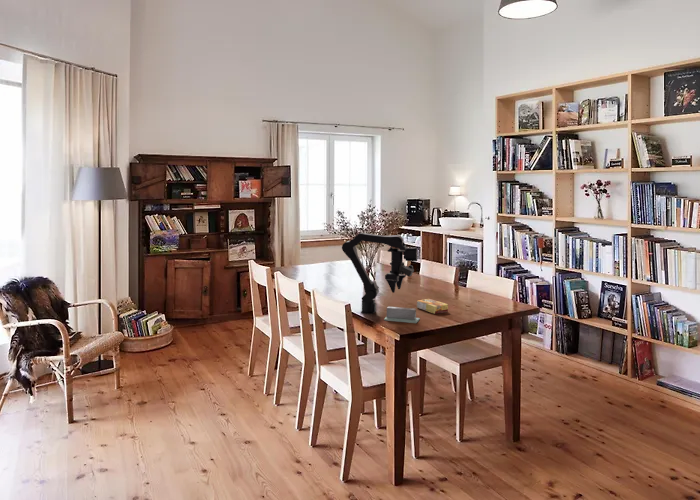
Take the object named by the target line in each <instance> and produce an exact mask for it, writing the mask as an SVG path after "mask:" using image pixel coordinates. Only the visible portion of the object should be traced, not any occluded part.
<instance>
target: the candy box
mask: <svg viewBox="0 0 700 500" xmlns="http://www.w3.org/2000/svg"><path fill="white" fill-rule="evenodd" d="M416 309H420V310H422V311H426V312H429V313H431V314H434V315H435V314H443V313H448V311H449V304H448V303H445V302H441V301H439V300H438V301H437V300H435V299H432V298H426V299H419V300H416Z"/></svg>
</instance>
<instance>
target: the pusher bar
mask: <svg viewBox="0 0 700 500" xmlns="http://www.w3.org/2000/svg"><path fill="white" fill-rule="evenodd" d="M386 317H387V318H395V319H406V320H415V319H416V318H417V308H413V307H411V308H410V307H398V306H387V307H386Z"/></svg>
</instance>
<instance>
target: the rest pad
mask: <svg viewBox="0 0 700 500" xmlns="http://www.w3.org/2000/svg"><path fill="white" fill-rule="evenodd" d="M420 319H421V318H420V317H416V319H415V320H406V319H395V318H387V316H385V318H384V319H383V320H384V321H389V322H398V323H408V324H409V323H410V324H417V323H418V322H419V321H420Z"/></svg>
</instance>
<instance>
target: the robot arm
mask: <svg viewBox="0 0 700 500" xmlns="http://www.w3.org/2000/svg"><path fill="white" fill-rule="evenodd" d="M362 242H369V243H375V244H376V243H377V244H384V245H386V246H389V247H390V248H388V250H387V252H388V253H389V252H391V253H390V254H391V255H390V257H391V260H390V261H391V262H390V263H389V265H390V270H389V272H388V273H386V274H385V275H384V278H385V281H386V282H387V284H388V286H389V288H390V291H391V292H392V293H393V294H394V293H395V292H396V287H397V289H398V290H401V287H402V284H403V281H404V278H405V277H411V276H412V275H413V273H414V272H415V269H414V266H413V265H411V264H409V265H408V266H407V265H405V262H418V258H419V257H418V255H419V253H418V247H408V246H407V245H406V244H405V242H404V238H403V237H402V236H401V235H399V234H398V235H395V234H394V235H381V234H380V235H379V234H372V233H366V232H359V233H357V235H356V236H354V237H353V238H351V240H348V241H345V242H343V243H342V244H341V250H342V251H343V253H344V254H345V256H346V257H347V258H349V260H350V261H351V262H352V263H351V264H352V265H353V268H355V271H356V273H357V274H358V277H359V278H360V280H361V282H362V285H363V289H364V293H365V294H363V296H362V297H361V311H360V313H361V314H370V315H371V314H372V315H373V314H374V313H376V312H377V303H376V300H375V299H376V297H377V296H378V295H379V292H380V289H379V288H380V287H379V285H378V284H377V282H376V280H375V281H372V280H371V278H370V276H369V274H368V273H367V270H366V269H365V266H364V264H363V263H362V260H361V259H360V257H359V254H358V249H357V245H359V244H360V243H362ZM403 259H404V260H405V262H403Z"/></svg>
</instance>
